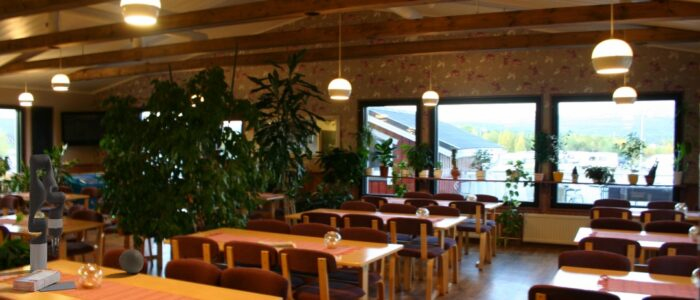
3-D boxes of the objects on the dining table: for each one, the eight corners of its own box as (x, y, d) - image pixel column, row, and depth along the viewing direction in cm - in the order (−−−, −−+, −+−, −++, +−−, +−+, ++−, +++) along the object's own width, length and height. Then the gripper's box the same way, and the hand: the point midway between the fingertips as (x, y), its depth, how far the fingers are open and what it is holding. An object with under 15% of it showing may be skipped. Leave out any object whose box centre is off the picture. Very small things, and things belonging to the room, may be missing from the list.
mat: (39, 284, 340) (39, 283, 340) (74, 281, 348) (74, 280, 348) (39, 292, 324) (39, 291, 324) (76, 288, 332) (76, 287, 332)
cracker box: (41, 278, 347) (12, 290, 327) (40, 268, 347) (12, 279, 326) (61, 280, 344) (34, 292, 324) (61, 270, 343) (33, 281, 323)
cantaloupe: (130, 270, 380) (130, 246, 380) (148, 272, 375) (148, 248, 375) (114, 274, 367) (114, 250, 367) (132, 277, 362) (132, 252, 361)
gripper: (47, 225, 349) (47, 254, 349) (48, 228, 337) (48, 259, 337) (62, 224, 352) (61, 253, 352) (63, 227, 340) (62, 258, 341)
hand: (55, 256), depth 345 cm, fingers closed
